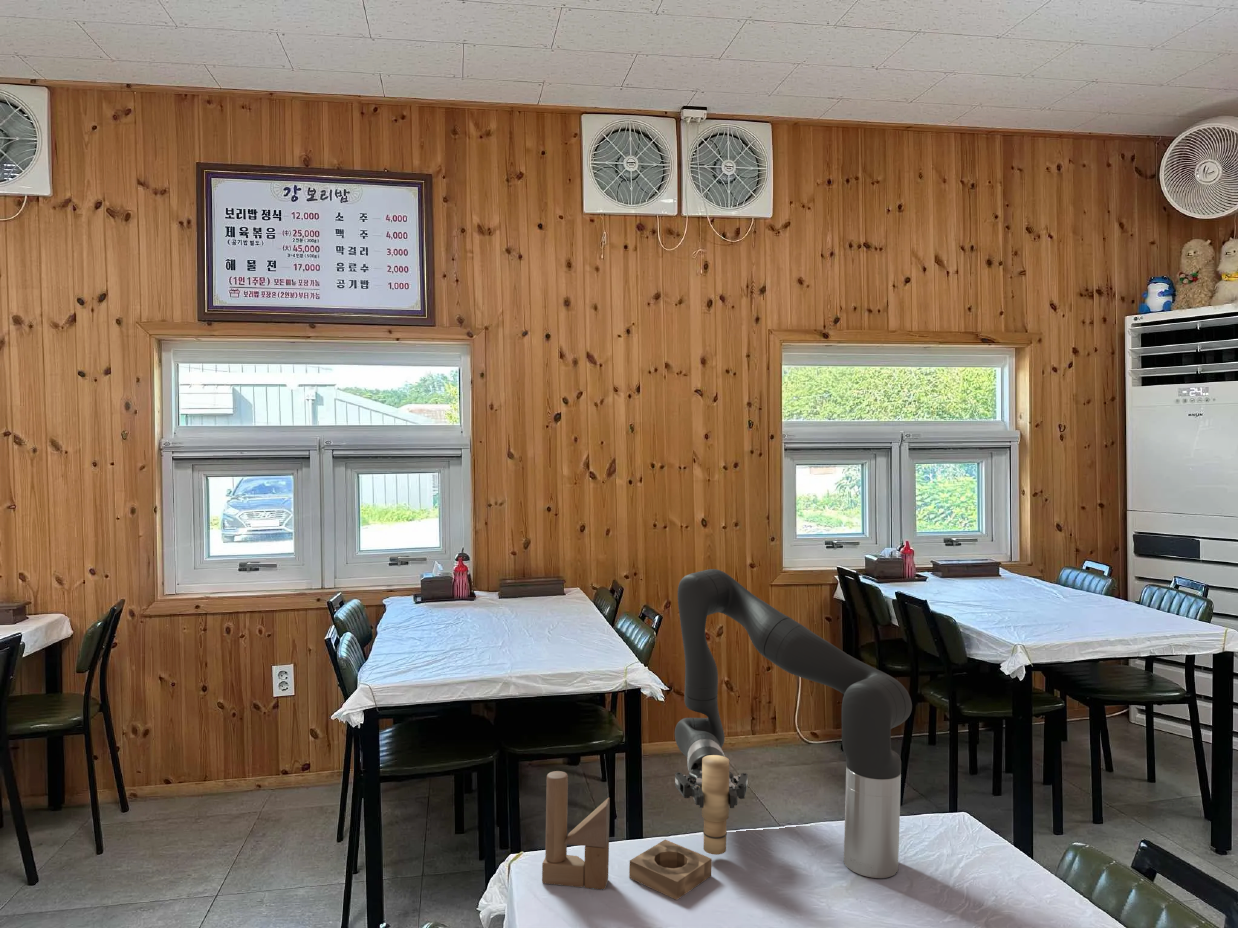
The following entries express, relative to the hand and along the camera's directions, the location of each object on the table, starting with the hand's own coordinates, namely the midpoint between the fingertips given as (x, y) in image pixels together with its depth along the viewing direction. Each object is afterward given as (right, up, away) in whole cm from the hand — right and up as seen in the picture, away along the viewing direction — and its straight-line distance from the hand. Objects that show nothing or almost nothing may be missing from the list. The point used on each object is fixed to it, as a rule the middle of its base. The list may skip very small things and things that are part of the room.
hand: (717, 802), depth 144 cm
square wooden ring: (-8, -11, -3) cm, 15 cm away
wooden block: (-24, -11, -5) cm, 28 cm away
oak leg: (0, -9, +3) cm, 10 cm away
